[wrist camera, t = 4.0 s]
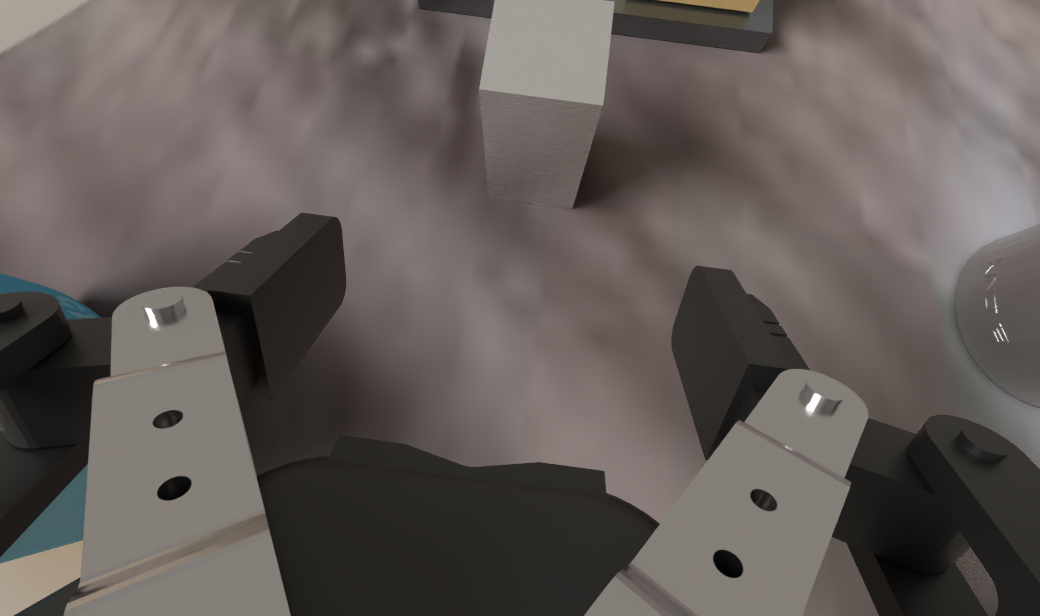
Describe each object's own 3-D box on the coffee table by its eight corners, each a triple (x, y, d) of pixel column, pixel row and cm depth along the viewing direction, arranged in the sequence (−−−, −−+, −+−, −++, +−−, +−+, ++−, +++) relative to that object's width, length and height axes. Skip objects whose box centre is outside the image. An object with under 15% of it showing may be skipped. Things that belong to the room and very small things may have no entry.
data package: (253, 429, 24) (9, 438, 12) (188, 513, 23) (-144, 609, 11) (70, 292, 25) (-311, 179, 13) (1, 366, 24) (-471, 314, 13)
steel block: (580, 134, 28) (614, 1, 19) (572, 209, 27) (603, 105, 18) (500, 123, 28) (496, -14, 19) (488, 197, 27) (479, 89, 18)
